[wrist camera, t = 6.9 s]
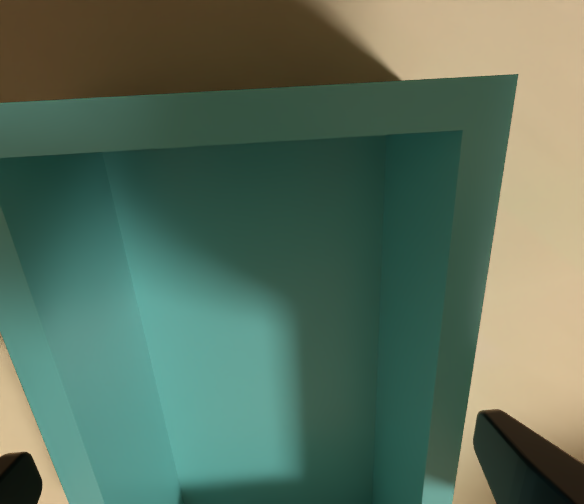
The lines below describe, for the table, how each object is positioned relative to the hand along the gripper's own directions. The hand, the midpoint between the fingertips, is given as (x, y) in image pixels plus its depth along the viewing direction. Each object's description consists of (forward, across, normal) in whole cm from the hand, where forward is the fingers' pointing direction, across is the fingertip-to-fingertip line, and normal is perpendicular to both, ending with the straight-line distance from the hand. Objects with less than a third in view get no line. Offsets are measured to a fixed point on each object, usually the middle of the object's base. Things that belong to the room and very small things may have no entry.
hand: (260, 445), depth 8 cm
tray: (+3, 0, 0) cm, 3 cm away
